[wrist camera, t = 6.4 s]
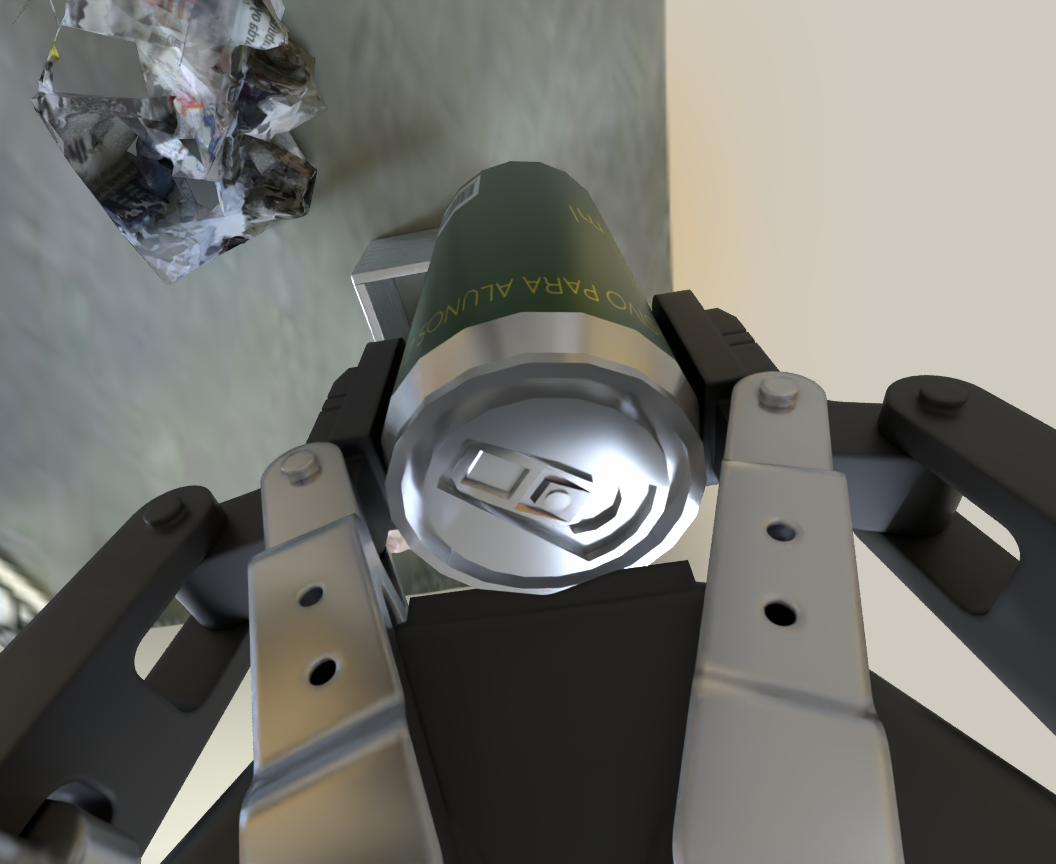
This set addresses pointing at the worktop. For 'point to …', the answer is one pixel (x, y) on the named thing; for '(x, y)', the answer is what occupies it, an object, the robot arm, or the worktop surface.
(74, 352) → the worktop surface
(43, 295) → the worktop surface
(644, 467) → the beer can
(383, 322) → the open square box
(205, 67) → the foil
